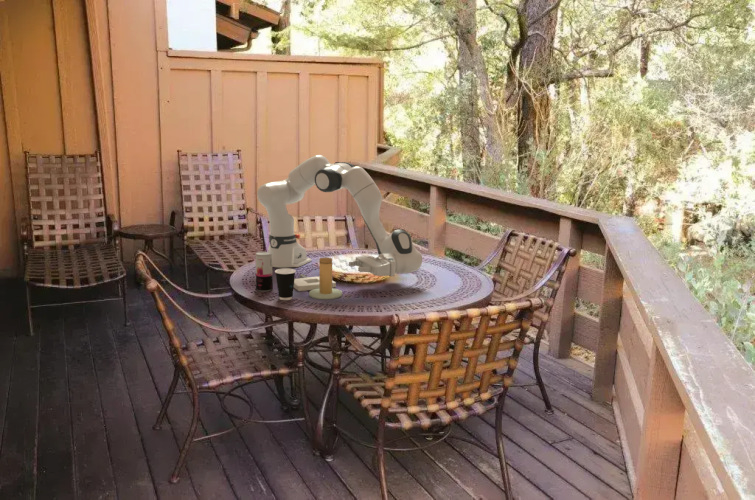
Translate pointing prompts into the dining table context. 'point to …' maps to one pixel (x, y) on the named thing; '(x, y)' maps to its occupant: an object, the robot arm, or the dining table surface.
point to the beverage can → (264, 271)
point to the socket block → (308, 283)
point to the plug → (325, 275)
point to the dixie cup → (285, 283)
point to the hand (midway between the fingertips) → (354, 266)
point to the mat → (317, 295)
